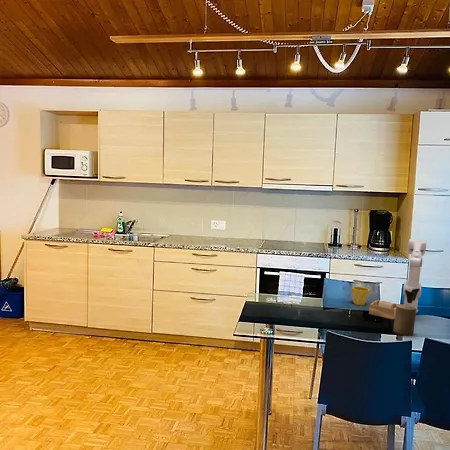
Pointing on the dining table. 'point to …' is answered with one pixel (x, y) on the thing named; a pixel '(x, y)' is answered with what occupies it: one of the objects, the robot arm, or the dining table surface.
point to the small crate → (386, 304)
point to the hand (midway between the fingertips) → (411, 301)
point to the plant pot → (360, 295)
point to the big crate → (382, 310)
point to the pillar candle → (404, 319)
